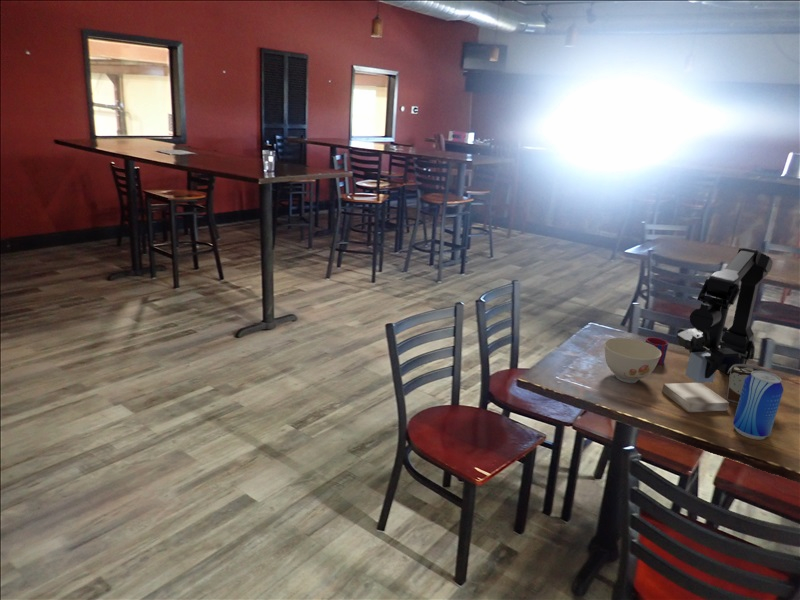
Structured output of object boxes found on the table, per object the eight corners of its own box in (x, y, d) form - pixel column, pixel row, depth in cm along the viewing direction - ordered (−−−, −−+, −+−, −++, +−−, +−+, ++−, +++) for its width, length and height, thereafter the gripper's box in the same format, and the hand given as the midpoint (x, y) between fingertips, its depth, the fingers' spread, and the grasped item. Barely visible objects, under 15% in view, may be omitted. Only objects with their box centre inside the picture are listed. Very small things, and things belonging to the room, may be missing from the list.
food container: (770, 402, 167) (779, 370, 163) (770, 411, 161) (779, 378, 158) (721, 390, 172) (729, 359, 169) (720, 398, 167) (729, 366, 164)
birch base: (698, 390, 171) (700, 382, 171) (727, 410, 160) (729, 402, 160) (662, 391, 169) (663, 383, 168) (688, 412, 158) (690, 404, 157)
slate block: (701, 374, 165) (706, 351, 163) (712, 382, 161) (718, 359, 159) (685, 374, 164) (690, 352, 162) (696, 383, 160) (702, 359, 158)
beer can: (759, 444, 144) (777, 386, 139) (725, 429, 151) (740, 373, 145) (774, 435, 149) (792, 379, 144) (741, 420, 155) (756, 366, 150)
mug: (638, 359, 190) (642, 340, 188) (649, 351, 198) (653, 333, 195) (659, 366, 186) (664, 347, 184) (670, 358, 193) (674, 339, 191)
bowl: (599, 384, 171) (605, 353, 168) (598, 363, 186) (603, 334, 183) (657, 394, 167) (664, 363, 164) (652, 372, 182) (658, 342, 178)
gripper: (665, 309, 164) (654, 360, 169) (710, 335, 147) (696, 390, 152) (700, 309, 166) (688, 359, 171) (748, 334, 149) (733, 389, 154)
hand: (700, 373), depth 162 cm, fingers closed on slate block, 5 cm apart
